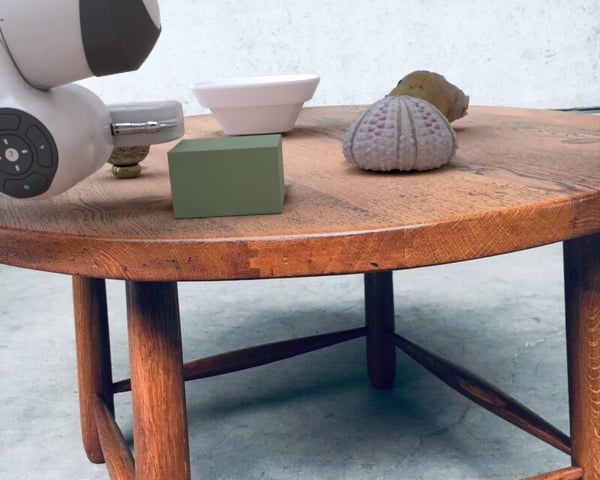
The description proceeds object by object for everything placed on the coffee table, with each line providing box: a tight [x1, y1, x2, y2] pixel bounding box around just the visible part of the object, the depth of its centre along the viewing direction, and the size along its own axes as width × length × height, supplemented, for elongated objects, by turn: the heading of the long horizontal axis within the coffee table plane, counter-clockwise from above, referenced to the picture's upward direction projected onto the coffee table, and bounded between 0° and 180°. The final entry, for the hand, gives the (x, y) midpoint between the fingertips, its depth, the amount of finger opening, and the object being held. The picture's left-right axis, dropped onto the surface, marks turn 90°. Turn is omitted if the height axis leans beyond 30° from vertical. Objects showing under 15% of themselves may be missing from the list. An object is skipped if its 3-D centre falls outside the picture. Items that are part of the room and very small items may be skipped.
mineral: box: [378, 69, 470, 124], centre depth 129 cm, size 26×9×10 cm
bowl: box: [189, 73, 321, 136], centre depth 144 cm, size 21×21×9 cm
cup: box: [106, 145, 151, 179], centre depth 109 cm, size 8×7×8 cm
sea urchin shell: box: [340, 95, 460, 172], centre depth 103 cm, size 13×14×8 cm
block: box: [166, 133, 286, 219], centre depth 87 cm, size 10×10×6 cm
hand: (97, 119), depth 97 cm, fingers open, 8 cm apart
